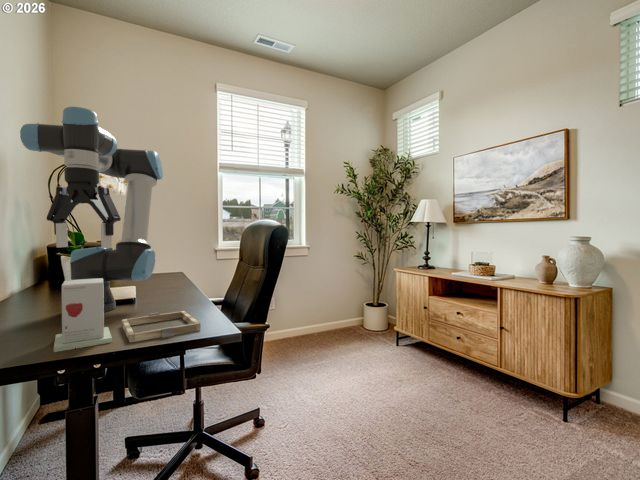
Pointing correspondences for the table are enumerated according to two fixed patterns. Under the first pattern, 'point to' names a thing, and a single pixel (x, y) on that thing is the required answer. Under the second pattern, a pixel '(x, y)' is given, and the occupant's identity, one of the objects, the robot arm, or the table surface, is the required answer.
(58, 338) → the coaster pad
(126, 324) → the birch collar
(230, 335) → the table surface
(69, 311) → the supplement box
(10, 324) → the table surface
